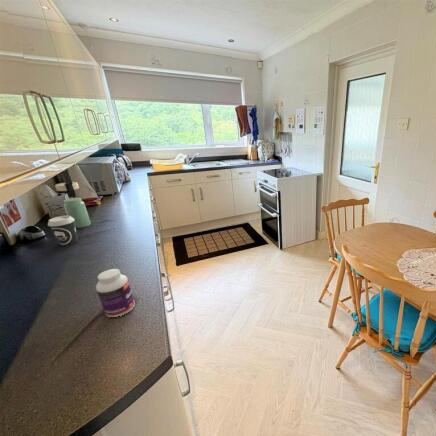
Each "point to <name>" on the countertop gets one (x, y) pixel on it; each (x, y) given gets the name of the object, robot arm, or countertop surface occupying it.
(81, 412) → the countertop surface
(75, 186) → the thermos lid
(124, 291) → the pill bottle
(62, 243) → the coffee cup
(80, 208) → the thermos
